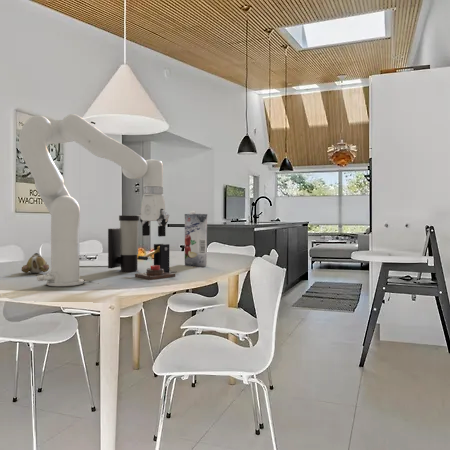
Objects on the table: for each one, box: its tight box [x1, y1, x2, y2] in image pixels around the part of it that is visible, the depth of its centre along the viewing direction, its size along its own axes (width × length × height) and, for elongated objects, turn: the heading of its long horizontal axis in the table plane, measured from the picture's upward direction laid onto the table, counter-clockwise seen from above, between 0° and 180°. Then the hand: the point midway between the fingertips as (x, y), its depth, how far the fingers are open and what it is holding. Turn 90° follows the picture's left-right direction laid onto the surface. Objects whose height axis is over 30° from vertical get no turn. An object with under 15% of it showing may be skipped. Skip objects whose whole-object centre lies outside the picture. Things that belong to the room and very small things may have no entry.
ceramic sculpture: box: [21, 252, 50, 274], centre depth 185 cm, size 11×9×15 cm
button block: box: [134, 267, 176, 281], centre depth 168 cm, size 12×10×4 cm
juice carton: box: [184, 210, 208, 268], centre depth 212 cm, size 9×10×27 cm
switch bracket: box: [145, 243, 176, 274], centre depth 181 cm, size 10×8×13 cm
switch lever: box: [137, 246, 160, 261], centre depth 178 cm, size 12×5×2 cm, turn 136°
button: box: [150, 264, 160, 270], centre depth 168 cm, size 4×4×2 cm
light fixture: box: [107, 214, 140, 273], centre depth 185 cm, size 12×11×25 cm
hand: (153, 235), depth 169 cm, fingers open, 9 cm apart
